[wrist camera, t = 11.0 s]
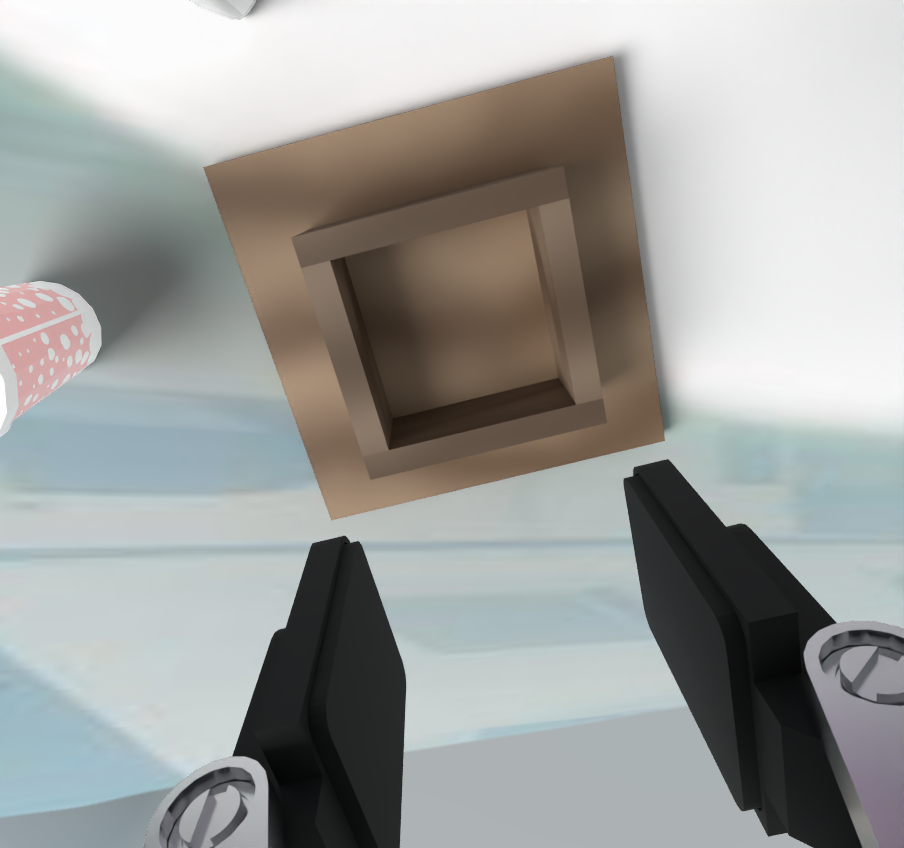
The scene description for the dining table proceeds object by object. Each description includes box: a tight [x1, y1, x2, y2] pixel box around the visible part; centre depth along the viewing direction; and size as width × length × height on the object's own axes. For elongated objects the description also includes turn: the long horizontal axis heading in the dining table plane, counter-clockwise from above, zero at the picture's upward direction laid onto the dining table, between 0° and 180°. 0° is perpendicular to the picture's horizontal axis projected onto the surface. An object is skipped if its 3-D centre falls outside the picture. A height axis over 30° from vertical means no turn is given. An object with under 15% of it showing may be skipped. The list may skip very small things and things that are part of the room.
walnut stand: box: [203, 56, 665, 520], centre depth 29 cm, size 18×18×5 cm
